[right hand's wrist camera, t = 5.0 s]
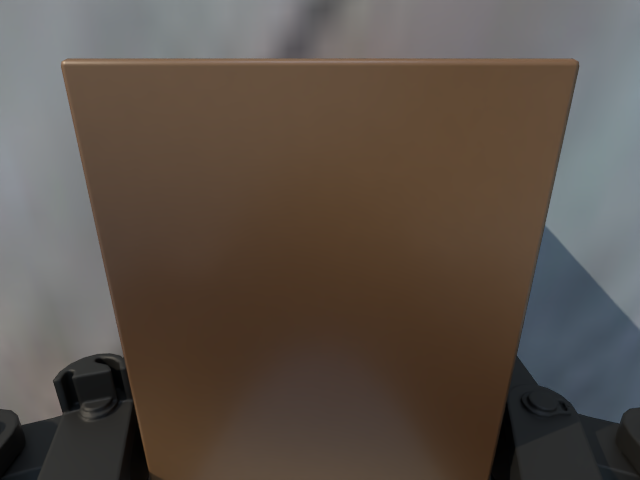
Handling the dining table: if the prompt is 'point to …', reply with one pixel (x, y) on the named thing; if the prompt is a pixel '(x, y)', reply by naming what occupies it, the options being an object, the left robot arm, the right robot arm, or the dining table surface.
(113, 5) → the dining table surface
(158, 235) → the beam
